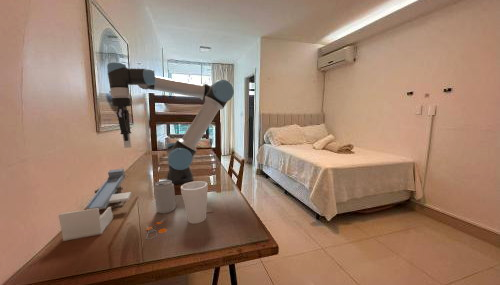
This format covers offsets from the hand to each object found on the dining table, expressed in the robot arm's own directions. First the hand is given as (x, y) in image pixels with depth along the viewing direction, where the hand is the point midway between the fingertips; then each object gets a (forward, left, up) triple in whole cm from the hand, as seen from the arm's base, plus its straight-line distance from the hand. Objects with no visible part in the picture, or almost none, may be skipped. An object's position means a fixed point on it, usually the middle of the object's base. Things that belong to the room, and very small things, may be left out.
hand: (128, 147), depth 100 cm
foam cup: (-42, +20, -25) cm, 53 cm away
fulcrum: (+3, +11, -24) cm, 27 cm away
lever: (0, +10, -18) cm, 20 cm away
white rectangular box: (-6, +30, -24) cm, 39 cm away
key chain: (-30, +27, -25) cm, 48 cm away
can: (-26, +14, -25) cm, 39 cm away
